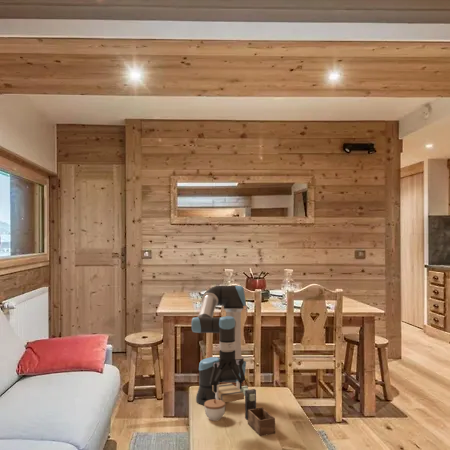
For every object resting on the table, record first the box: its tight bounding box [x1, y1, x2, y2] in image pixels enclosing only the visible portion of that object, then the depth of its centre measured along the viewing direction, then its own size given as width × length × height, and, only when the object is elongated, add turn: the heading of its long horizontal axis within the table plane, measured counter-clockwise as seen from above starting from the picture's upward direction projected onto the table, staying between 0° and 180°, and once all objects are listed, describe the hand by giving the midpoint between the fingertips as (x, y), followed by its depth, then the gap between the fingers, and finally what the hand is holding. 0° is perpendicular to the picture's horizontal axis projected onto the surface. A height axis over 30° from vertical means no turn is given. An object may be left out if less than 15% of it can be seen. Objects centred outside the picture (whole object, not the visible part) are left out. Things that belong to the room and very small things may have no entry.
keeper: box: [244, 388, 257, 421], centre depth 223 cm, size 2×5×14 cm, turn 110°
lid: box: [212, 382, 245, 403], centre depth 206 cm, size 16×10×4 cm, turn 20°
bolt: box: [240, 385, 255, 401], centre depth 227 cm, size 12×4×4 cm, turn 20°
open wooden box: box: [247, 407, 276, 437], centre depth 211 cm, size 14×8×7 cm, turn 20°
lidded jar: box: [203, 399, 226, 422], centre depth 224 cm, size 11×11×9 cm
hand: (227, 397), depth 206 cm, fingers closed on lid, 10 cm apart
